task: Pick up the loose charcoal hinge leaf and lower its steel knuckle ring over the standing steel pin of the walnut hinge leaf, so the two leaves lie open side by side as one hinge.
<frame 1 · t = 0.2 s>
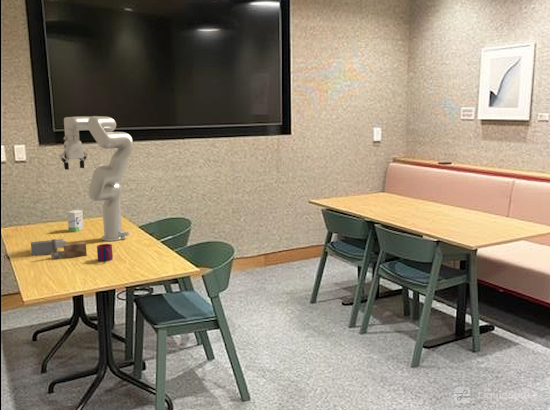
hand: (74, 168, 302), 37 cm above the table, tool pointing down, fingers open, 9 cm apart
walnut hinge leaf: (55, 257, 250), on the table
charcoal hinge leaf: (43, 253, 259), on the table
ink box: (76, 230, 311), on the table
mug: (105, 260, 245), on the table
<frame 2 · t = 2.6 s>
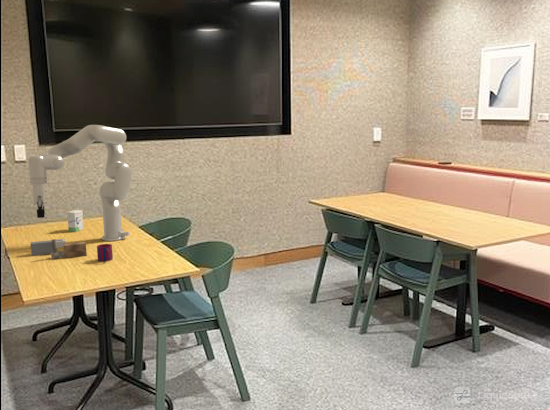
hand: (41, 215, 256), 19 cm above the table, tool pointing down, fingers open, 9 cm apart
nothing on the table moved.
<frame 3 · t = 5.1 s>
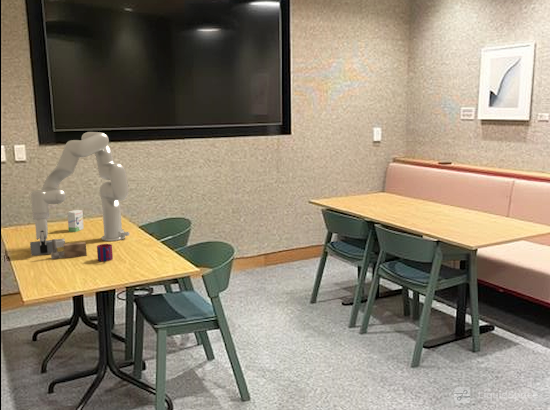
hand: (44, 251, 259), 1 cm above the table, tool pointing down, fingers closed on charcoal hinge leaf, 4 cm apart
charcoal hinge leaf: (42, 253, 259), on the table, touching gripper
everything else where it was.
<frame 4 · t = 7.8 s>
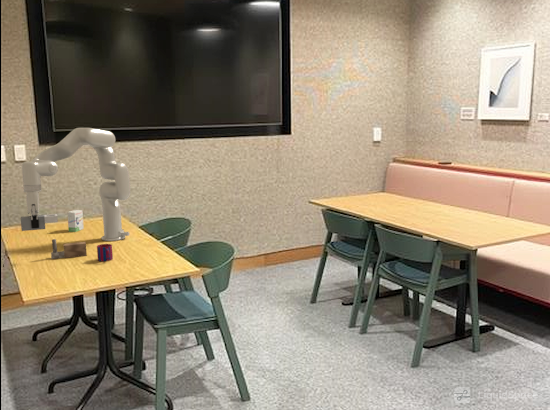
hand: (35, 226, 245), 16 cm above the table, tool pointing down, fingers closed on charcoal hinge leaf, 4 cm apart
charcoal hinge leaf: (33, 229, 244), point 15 cm above the table, touching gripper
everything else where it was.
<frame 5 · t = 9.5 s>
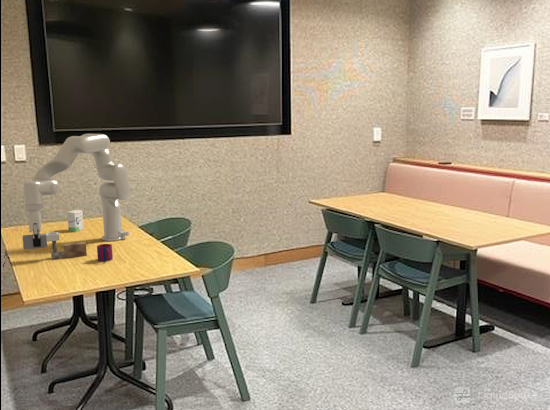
hand: (37, 245, 246), 7 cm above the table, tool pointing down, fingers closed on charcoal hinge leaf, 4 cm apart
charcoal hinge leaf: (35, 247, 246), point 6 cm above the table, touching gripper
everything else where it was.
when the fingers open (2 cm above the table, at t = 10.7 s): charcoal hinge leaf drops 1 cm, on the table.
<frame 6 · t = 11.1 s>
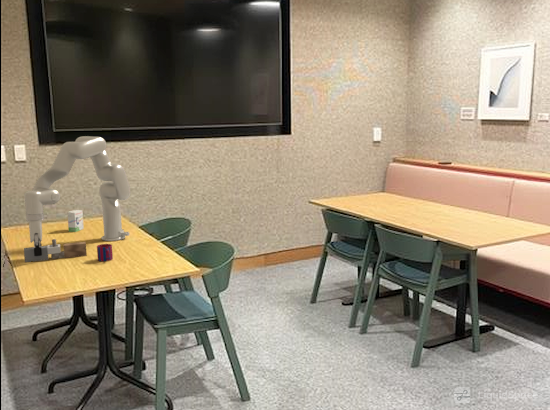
hand: (38, 253, 247), 3 cm above the table, tool pointing down, fingers open, 7 cm apart
charcoal hinge leaf: (36, 260, 247), on the table
everything else where it was.
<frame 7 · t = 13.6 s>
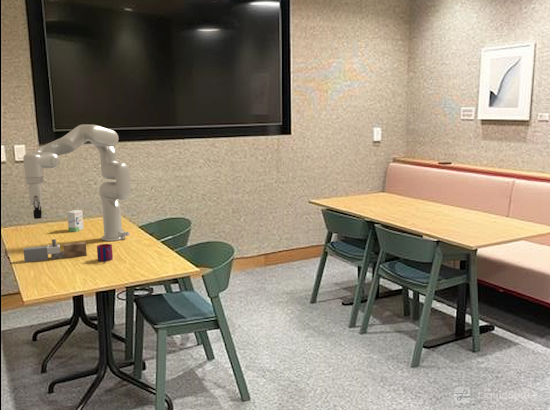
hand: (37, 216, 245), 20 cm above the table, tool pointing down, fingers open, 9 cm apart
nothing on the table moved.
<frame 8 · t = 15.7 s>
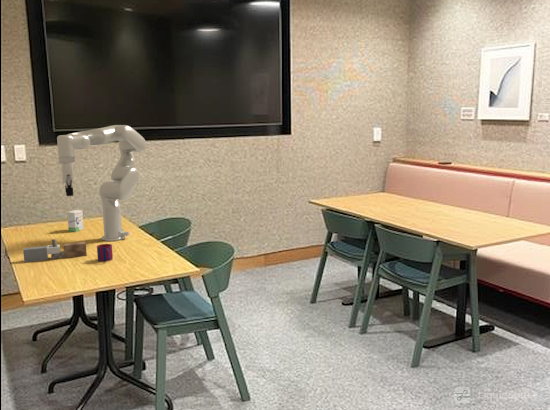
hand: (69, 194, 261), 28 cm above the table, tool pointing down, fingers open, 9 cm apart
nothing on the table moved.
at the end: charcoal hinge leaf 0.6 cm from the target spot on the walnut hinge leaf, point 0.0 cm above the walnut hinge leaf's base; charcoal hinge leaf tilted 0°; the gripper is holding nothing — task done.
